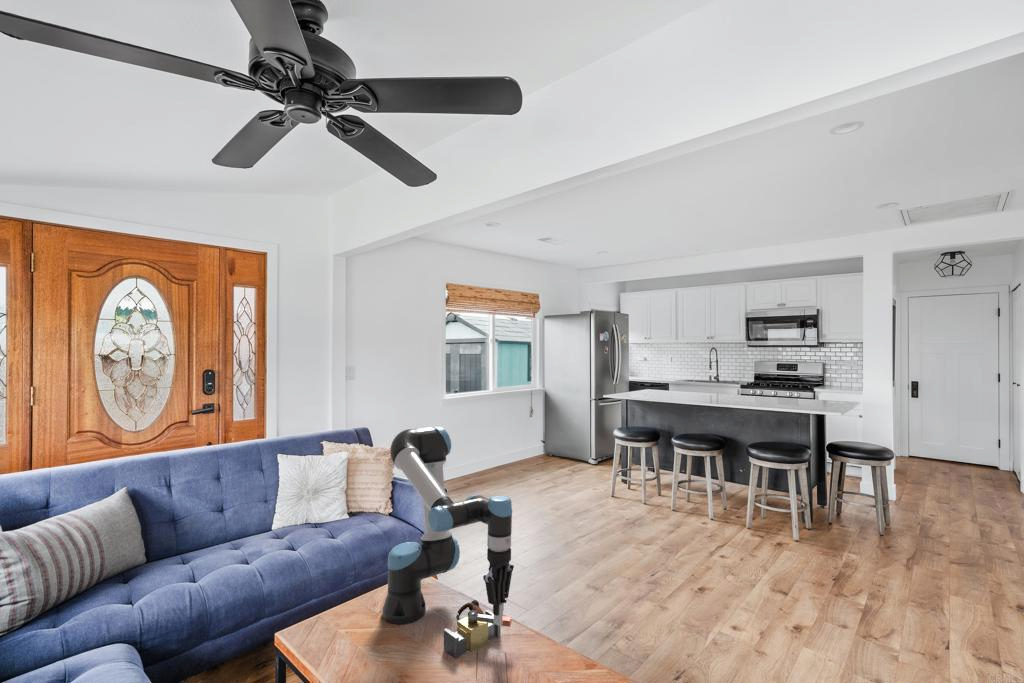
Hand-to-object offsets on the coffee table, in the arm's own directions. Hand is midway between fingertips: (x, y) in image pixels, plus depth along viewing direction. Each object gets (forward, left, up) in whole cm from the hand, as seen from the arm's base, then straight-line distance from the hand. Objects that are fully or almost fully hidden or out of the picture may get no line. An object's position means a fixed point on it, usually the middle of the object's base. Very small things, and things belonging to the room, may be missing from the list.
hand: (498, 624), depth 155 cm
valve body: (-9, -3, -9) cm, 13 cm away
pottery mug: (-18, +3, -9) cm, 20 cm away
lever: (-4, 0, -1) cm, 4 cm away
